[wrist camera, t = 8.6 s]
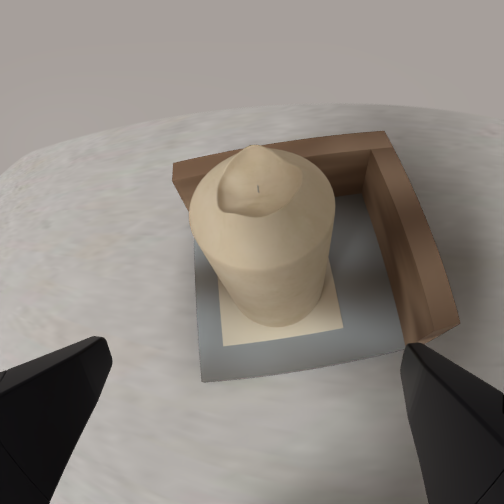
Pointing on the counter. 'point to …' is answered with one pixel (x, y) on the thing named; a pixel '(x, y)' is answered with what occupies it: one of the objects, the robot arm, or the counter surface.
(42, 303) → the counter surface
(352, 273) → the frame
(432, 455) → the robot arm
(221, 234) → the candle
